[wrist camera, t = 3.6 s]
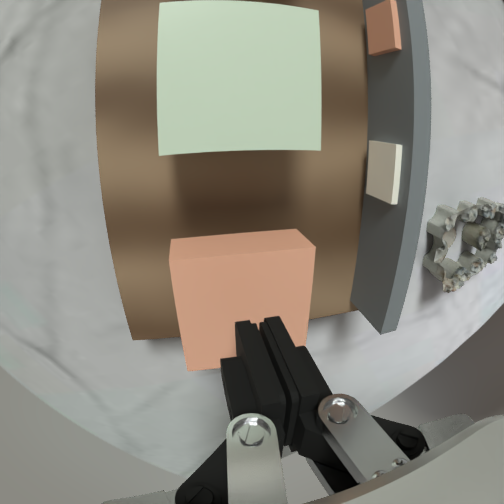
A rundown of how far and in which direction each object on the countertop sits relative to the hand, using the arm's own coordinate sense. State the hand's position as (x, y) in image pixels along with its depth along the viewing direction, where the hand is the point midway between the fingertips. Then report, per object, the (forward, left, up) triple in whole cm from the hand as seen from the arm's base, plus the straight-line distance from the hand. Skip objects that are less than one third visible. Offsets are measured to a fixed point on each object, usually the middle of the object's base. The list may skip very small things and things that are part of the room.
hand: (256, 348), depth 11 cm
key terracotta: (0, 0, -5) cm, 5 cm away
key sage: (-10, 0, -5) cm, 11 cm away
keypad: (-10, +2, -9) cm, 14 cm away
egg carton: (0, +23, -10) cm, 25 cm away
